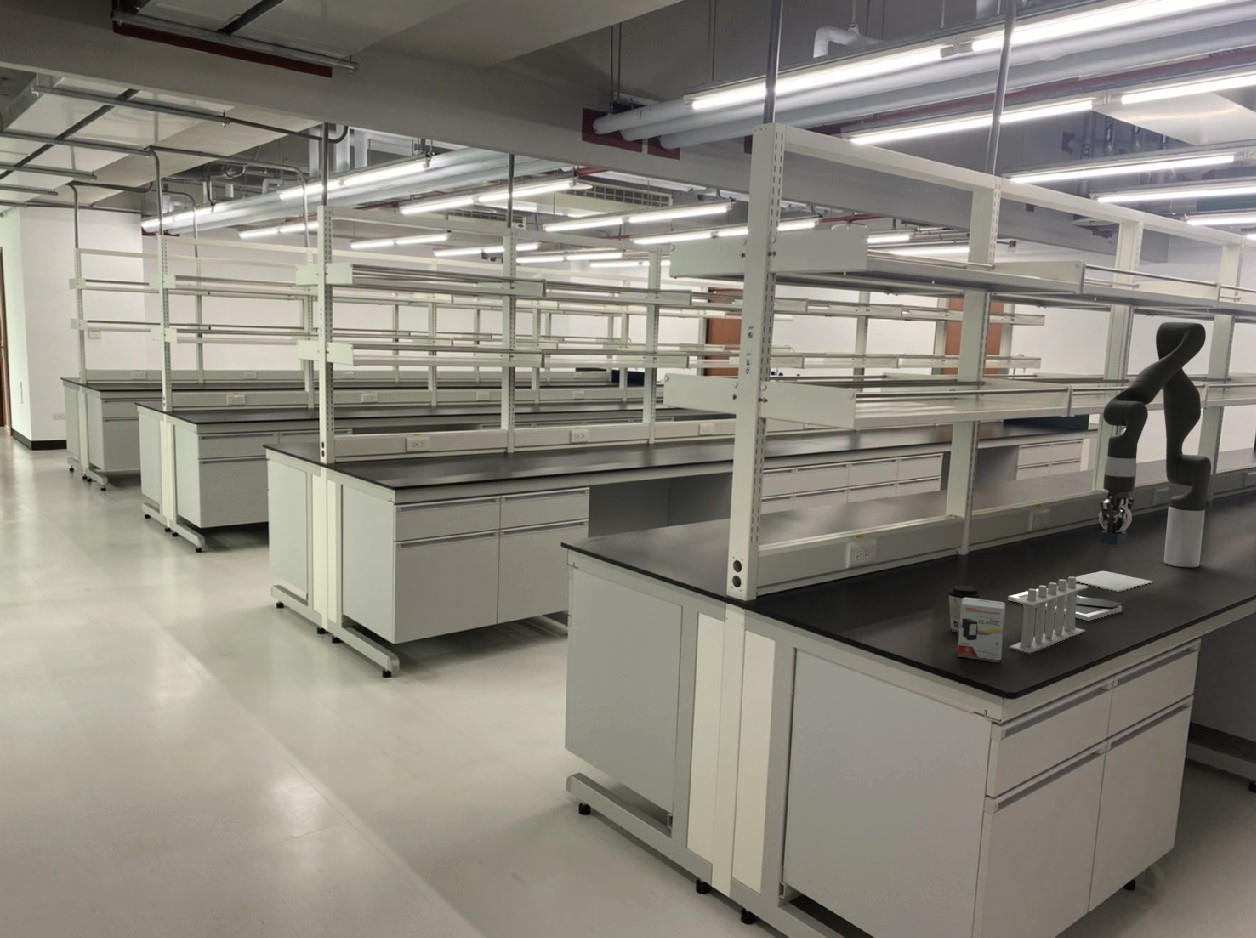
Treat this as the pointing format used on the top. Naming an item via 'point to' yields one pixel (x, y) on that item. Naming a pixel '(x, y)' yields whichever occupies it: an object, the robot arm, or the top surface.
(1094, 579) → the mat
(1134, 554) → the top surface
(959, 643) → the ink box
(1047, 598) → the test tube rack
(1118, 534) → the watch
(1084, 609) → the picture frame
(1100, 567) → the top surface
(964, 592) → the coffee cup
